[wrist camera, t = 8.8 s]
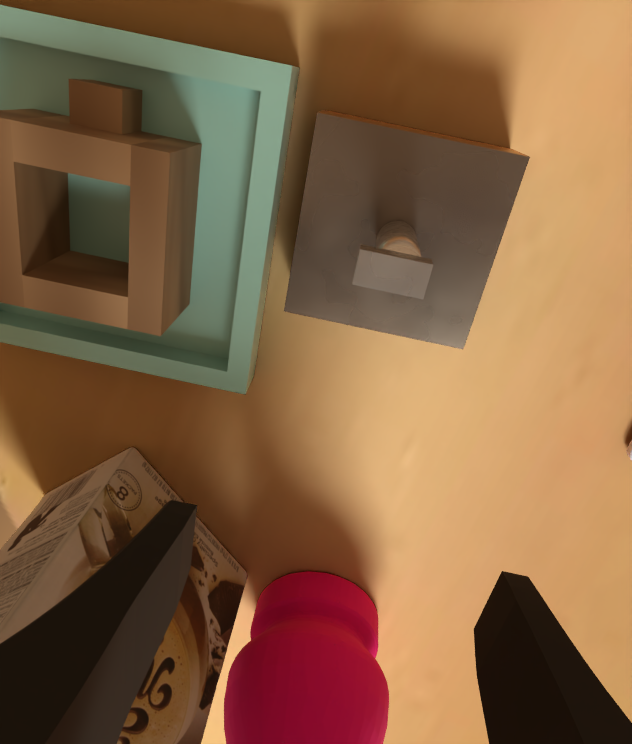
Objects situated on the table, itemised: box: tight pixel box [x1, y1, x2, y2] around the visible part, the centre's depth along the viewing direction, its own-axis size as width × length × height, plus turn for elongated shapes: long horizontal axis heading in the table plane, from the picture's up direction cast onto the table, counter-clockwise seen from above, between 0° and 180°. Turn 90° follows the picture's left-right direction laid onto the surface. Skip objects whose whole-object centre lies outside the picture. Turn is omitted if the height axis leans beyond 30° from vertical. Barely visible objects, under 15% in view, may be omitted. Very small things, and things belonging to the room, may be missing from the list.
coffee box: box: [0, 447, 247, 744], centre depth 20 cm, size 9×6×16 cm
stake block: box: [284, 110, 530, 349], centre depth 16 cm, size 6×6×6 cm
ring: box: [0, 79, 202, 336], centre depth 17 cm, size 6×7×3 cm
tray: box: [0, 5, 300, 395], centre depth 19 cm, size 11×11×2 cm
